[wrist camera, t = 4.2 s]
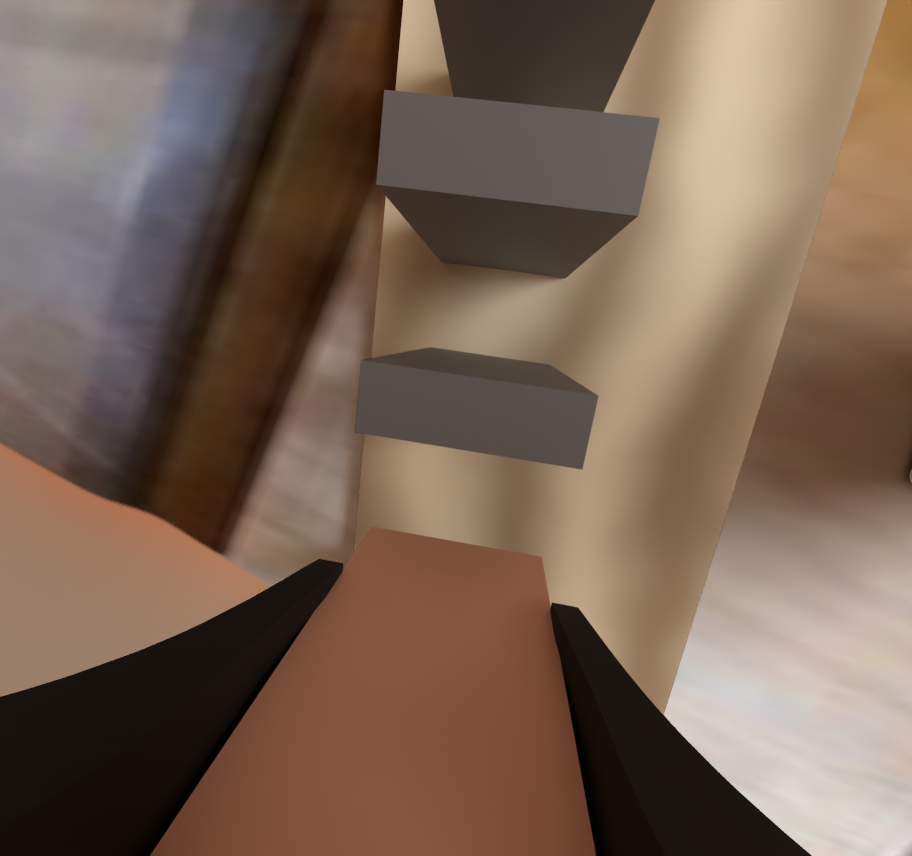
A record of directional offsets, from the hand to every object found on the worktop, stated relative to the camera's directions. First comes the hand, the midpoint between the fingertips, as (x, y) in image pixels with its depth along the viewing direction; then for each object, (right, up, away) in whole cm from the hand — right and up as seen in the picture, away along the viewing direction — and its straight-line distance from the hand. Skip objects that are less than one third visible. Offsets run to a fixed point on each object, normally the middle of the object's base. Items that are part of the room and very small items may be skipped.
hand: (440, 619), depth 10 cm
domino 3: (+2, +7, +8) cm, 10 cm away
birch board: (+5, +6, +9) cm, 11 cm away
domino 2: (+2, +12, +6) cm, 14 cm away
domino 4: (0, 0, +2) cm, 2 cm away
